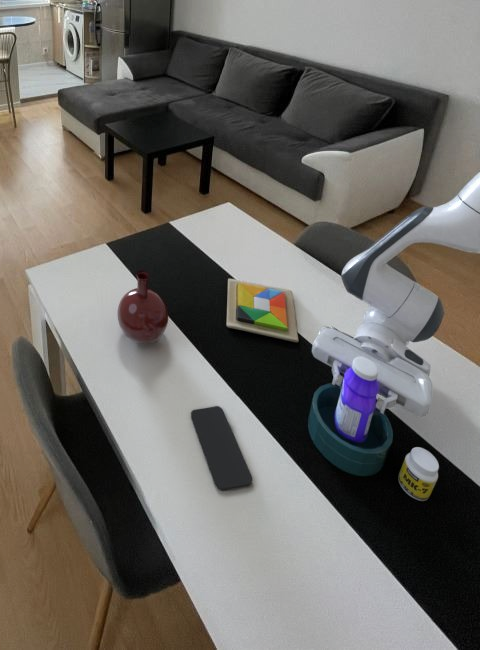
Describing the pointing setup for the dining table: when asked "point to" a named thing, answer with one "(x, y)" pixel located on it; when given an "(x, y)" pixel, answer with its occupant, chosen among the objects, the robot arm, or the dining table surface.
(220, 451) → the phone
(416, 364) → the robot arm
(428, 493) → the supplement bottle
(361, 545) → the dining table surface
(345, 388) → the bottle
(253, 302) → the wooden puzzle
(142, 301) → the round-bottom flask
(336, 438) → the teal bowl
